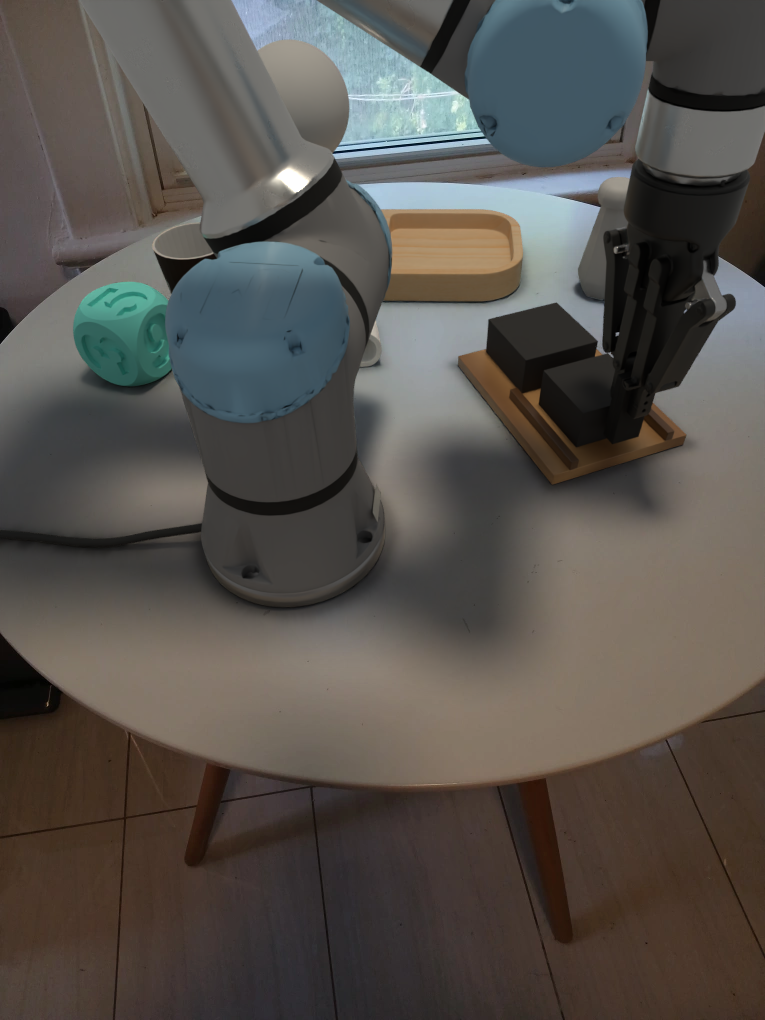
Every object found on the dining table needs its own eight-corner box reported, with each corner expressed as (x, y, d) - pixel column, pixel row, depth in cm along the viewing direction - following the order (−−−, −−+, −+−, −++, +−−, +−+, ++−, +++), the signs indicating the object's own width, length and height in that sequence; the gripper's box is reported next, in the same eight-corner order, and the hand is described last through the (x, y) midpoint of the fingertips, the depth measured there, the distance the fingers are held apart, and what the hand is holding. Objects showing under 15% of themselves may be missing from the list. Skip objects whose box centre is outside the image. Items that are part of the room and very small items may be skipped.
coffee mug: (233, 344, 83) (215, 261, 75) (162, 338, 84) (138, 256, 77) (265, 292, 90) (251, 212, 83) (199, 287, 92) (181, 208, 85)
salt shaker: (573, 278, 90) (590, 170, 81) (620, 278, 90) (644, 170, 80) (577, 303, 86) (596, 192, 77) (627, 304, 86) (652, 192, 76)
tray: (551, 485, 65) (555, 467, 64) (457, 365, 78) (458, 347, 77) (683, 444, 68) (690, 426, 67) (571, 335, 81) (574, 318, 80)
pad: (521, 393, 73) (525, 360, 70) (485, 351, 78) (488, 318, 75) (591, 374, 74) (598, 341, 72) (551, 334, 80) (556, 301, 77)
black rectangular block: (575, 447, 67) (583, 413, 64) (538, 404, 71) (543, 370, 69) (641, 428, 68) (651, 393, 65) (600, 386, 73) (607, 352, 70)
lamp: (515, 236, 98) (537, 14, 80) (522, 303, 86) (550, 61, 68) (274, 235, 101) (242, 21, 83) (248, 301, 89) (205, 67, 71)
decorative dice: (131, 339, 84) (110, 275, 78) (190, 352, 82) (172, 287, 76) (87, 378, 79) (61, 313, 73) (148, 394, 77) (126, 327, 71)
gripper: (810, 190, 45) (702, 470, 62) (680, 122, 53) (616, 385, 70) (707, 212, 43) (625, 494, 60) (590, 139, 52) (547, 403, 69)
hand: (620, 435), depth 65 cm, fingers closed
